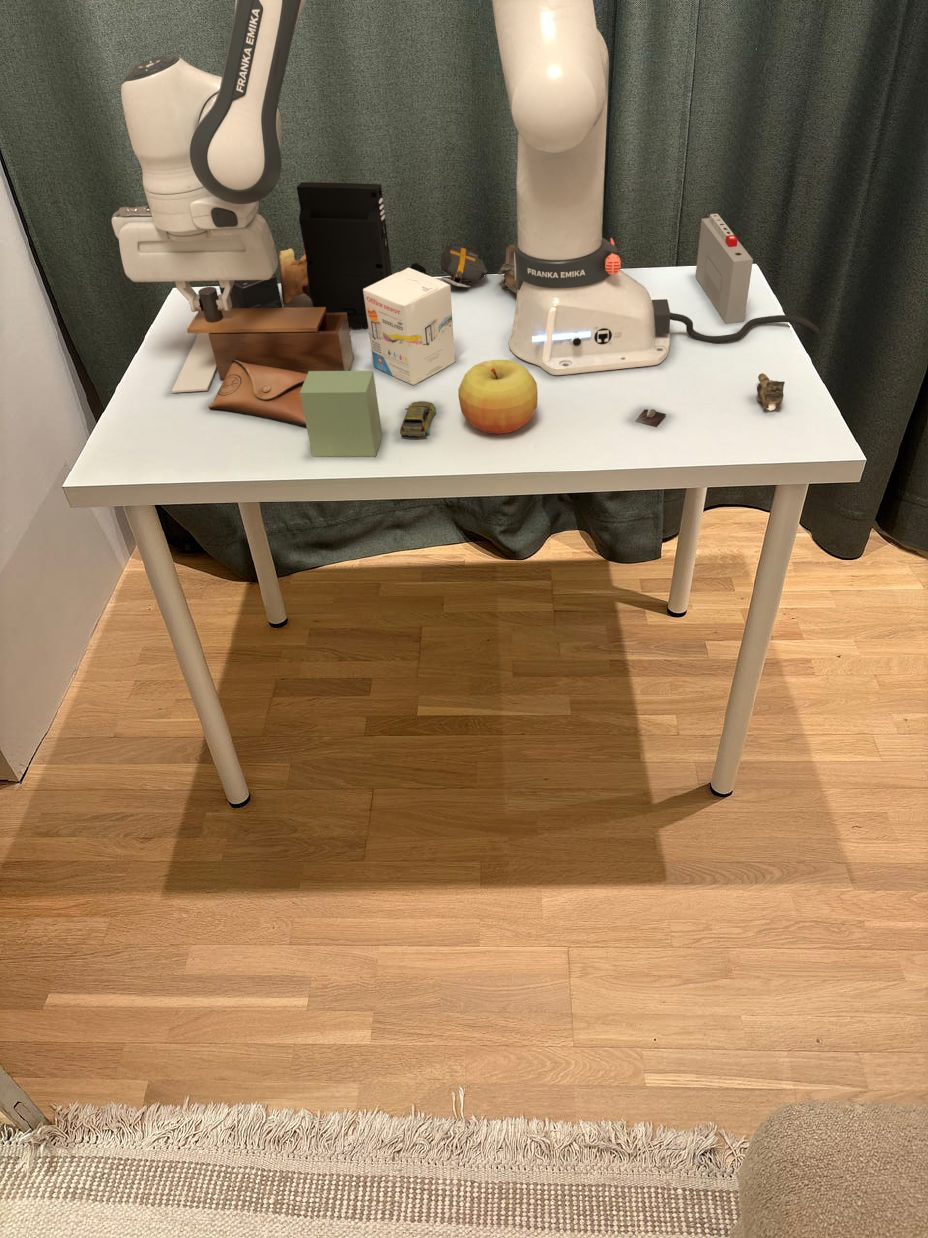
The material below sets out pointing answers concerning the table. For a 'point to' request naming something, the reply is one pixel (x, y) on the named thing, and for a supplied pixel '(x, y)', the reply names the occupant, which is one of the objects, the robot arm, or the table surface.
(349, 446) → the block
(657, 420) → the square knob tile
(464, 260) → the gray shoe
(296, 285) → the tan porous chunk
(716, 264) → the cassette player
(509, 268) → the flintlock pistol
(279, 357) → the storage box
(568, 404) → the table surface
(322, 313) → the lid
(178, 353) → the table surface
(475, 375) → the apple
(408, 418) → the race car
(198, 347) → the nameplate
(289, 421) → the sunglasses case
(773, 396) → the cat figurine
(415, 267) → the wireless earbuds
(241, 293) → the box
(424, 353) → the ink box
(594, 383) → the table surface
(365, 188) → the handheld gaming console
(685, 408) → the table surface
